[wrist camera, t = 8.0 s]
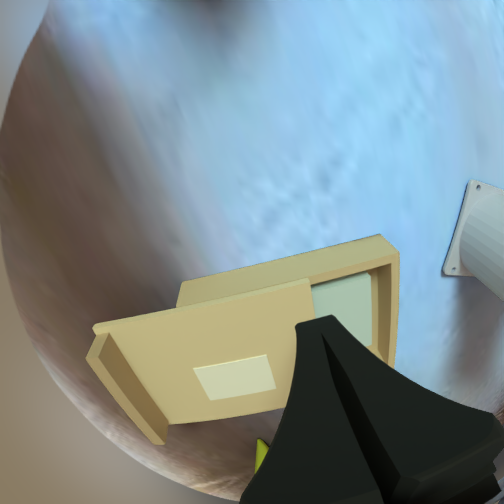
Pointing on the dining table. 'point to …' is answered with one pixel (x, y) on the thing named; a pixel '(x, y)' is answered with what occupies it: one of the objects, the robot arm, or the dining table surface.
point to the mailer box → (327, 287)
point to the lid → (203, 357)
